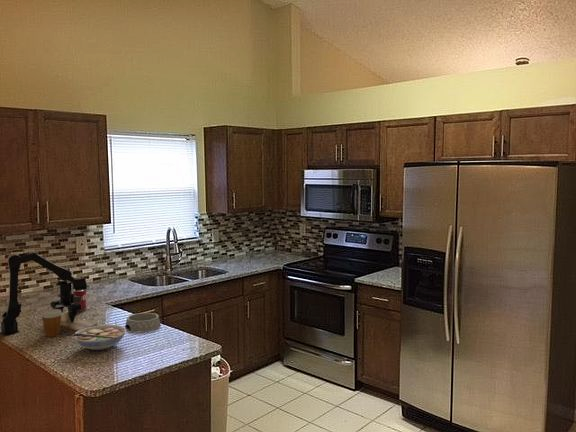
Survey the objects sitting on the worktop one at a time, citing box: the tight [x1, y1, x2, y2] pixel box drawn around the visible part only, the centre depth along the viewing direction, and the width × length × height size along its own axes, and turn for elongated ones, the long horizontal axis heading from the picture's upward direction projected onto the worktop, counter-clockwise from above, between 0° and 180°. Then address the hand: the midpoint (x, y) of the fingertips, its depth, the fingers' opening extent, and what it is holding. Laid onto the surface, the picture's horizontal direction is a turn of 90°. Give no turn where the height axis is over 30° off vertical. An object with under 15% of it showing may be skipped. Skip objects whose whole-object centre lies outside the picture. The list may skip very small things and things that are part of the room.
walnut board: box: [61, 319, 98, 333], centre depth 254 cm, size 12×12×2 cm
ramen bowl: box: [64, 324, 127, 351], centre depth 227 cm, size 25×23×8 cm
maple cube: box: [60, 310, 77, 326], centre depth 262 cm, size 6×6×6 cm
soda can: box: [72, 289, 88, 312], centre depth 288 cm, size 7×7×12 cm
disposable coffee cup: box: [40, 308, 62, 338], centre depth 244 cm, size 10×10×12 cm
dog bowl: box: [124, 312, 162, 332], centre depth 259 cm, size 17×18×5 cm
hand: (66, 321), depth 262 cm, fingers open, 9 cm apart
